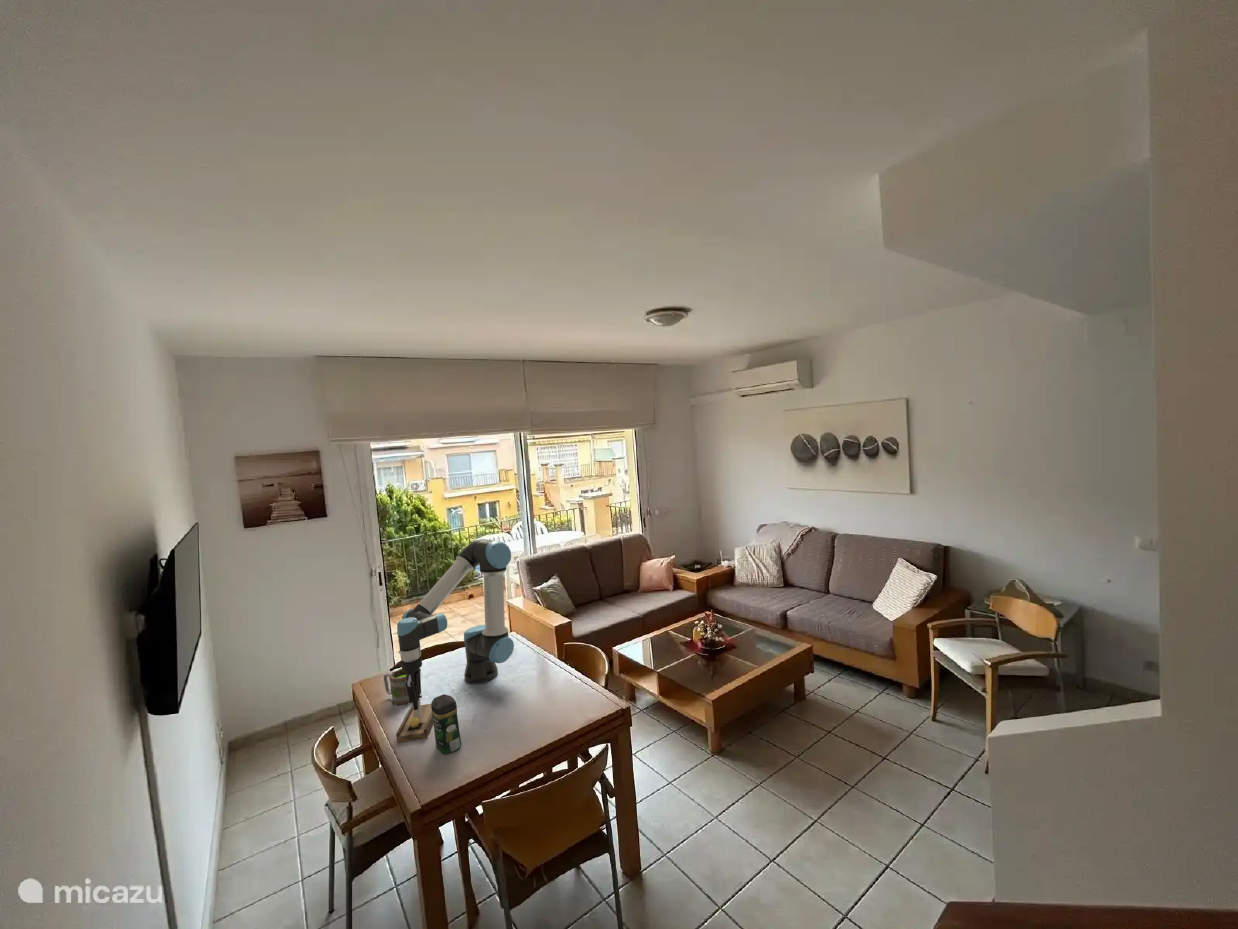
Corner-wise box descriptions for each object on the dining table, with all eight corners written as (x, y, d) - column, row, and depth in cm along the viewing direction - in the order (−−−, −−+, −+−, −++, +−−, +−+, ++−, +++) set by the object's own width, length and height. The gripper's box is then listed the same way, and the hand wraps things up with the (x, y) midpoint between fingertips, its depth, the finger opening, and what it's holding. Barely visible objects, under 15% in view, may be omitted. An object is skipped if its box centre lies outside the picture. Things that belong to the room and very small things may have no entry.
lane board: (440, 708, 219) (439, 699, 219) (427, 738, 197) (426, 729, 197) (413, 711, 218) (412, 703, 218) (397, 743, 196) (395, 734, 196)
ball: (419, 728, 203) (421, 718, 205) (417, 725, 200) (418, 715, 203) (410, 729, 203) (411, 719, 205) (407, 726, 200) (409, 716, 202)
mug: (424, 694, 232) (420, 668, 232) (406, 707, 222) (403, 680, 221) (395, 691, 238) (392, 665, 237) (377, 704, 227) (374, 677, 227)
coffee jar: (433, 747, 192) (427, 698, 190) (453, 737, 197) (448, 689, 195) (443, 758, 184) (437, 707, 183) (464, 748, 189) (458, 698, 188)
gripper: (406, 652, 211) (412, 708, 213) (396, 666, 199) (403, 726, 200) (425, 650, 212) (431, 706, 214) (416, 664, 199) (423, 723, 201)
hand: (417, 715), depth 207 cm, fingers closed
